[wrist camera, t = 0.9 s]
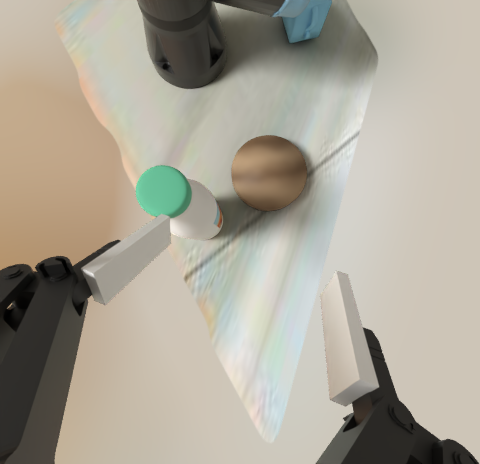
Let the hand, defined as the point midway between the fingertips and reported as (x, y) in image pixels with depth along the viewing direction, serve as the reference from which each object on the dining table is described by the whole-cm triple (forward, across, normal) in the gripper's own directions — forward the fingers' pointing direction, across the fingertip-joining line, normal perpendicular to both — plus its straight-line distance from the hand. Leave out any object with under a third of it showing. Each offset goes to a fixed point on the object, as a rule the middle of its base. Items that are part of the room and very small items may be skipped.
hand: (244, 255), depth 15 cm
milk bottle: (+18, -11, -10) cm, 23 cm away
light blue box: (+46, -6, +25) cm, 52 cm away
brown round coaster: (+26, -2, -1) cm, 26 cm away
